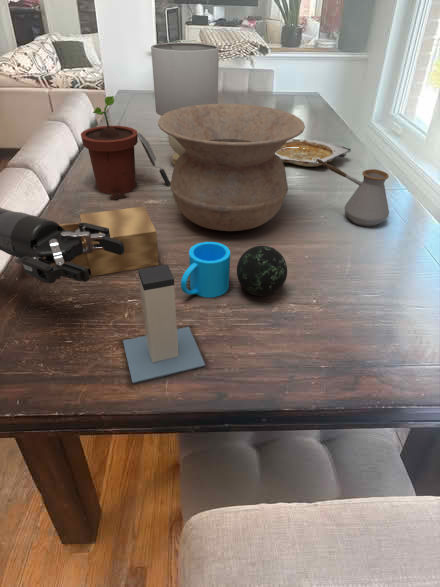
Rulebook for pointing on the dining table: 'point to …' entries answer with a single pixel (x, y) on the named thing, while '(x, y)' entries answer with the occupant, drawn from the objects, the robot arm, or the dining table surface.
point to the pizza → (310, 152)
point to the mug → (207, 270)
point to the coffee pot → (366, 197)
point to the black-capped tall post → (159, 312)
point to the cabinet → (124, 240)
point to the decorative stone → (261, 270)
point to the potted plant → (115, 156)
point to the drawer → (78, 260)
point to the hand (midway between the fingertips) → (105, 261)
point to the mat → (147, 370)
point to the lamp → (184, 79)
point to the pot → (230, 163)
